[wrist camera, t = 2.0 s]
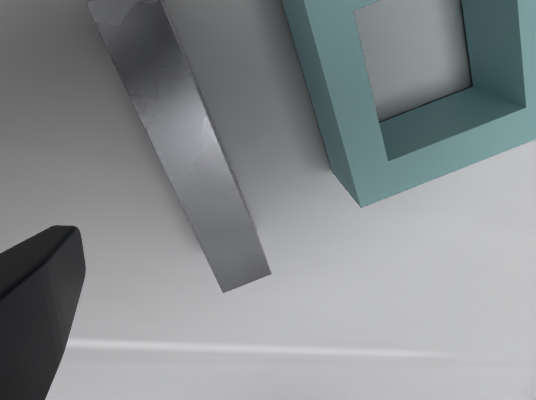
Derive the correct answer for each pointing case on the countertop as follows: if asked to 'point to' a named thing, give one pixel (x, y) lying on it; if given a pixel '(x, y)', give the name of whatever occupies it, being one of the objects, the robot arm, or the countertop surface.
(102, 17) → the bar
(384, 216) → the countertop surface
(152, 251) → the countertop surface
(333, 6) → the teal square frame
